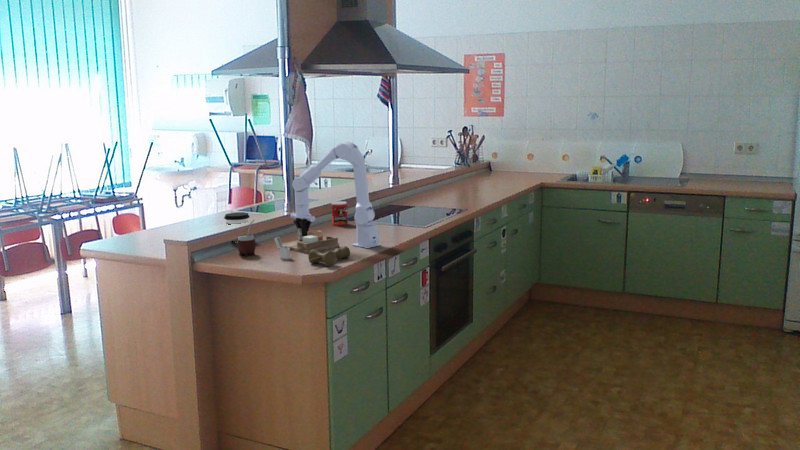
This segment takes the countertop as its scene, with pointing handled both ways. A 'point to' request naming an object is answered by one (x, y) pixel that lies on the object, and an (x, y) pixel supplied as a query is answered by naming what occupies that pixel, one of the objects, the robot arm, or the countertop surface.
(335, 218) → the canned food
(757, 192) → the countertop surface
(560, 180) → the countertop surface
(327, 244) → the lane rack
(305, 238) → the block
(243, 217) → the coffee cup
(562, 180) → the countertop surface
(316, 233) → the tethered block
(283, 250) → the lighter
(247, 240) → the mate gourd
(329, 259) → the kendama
